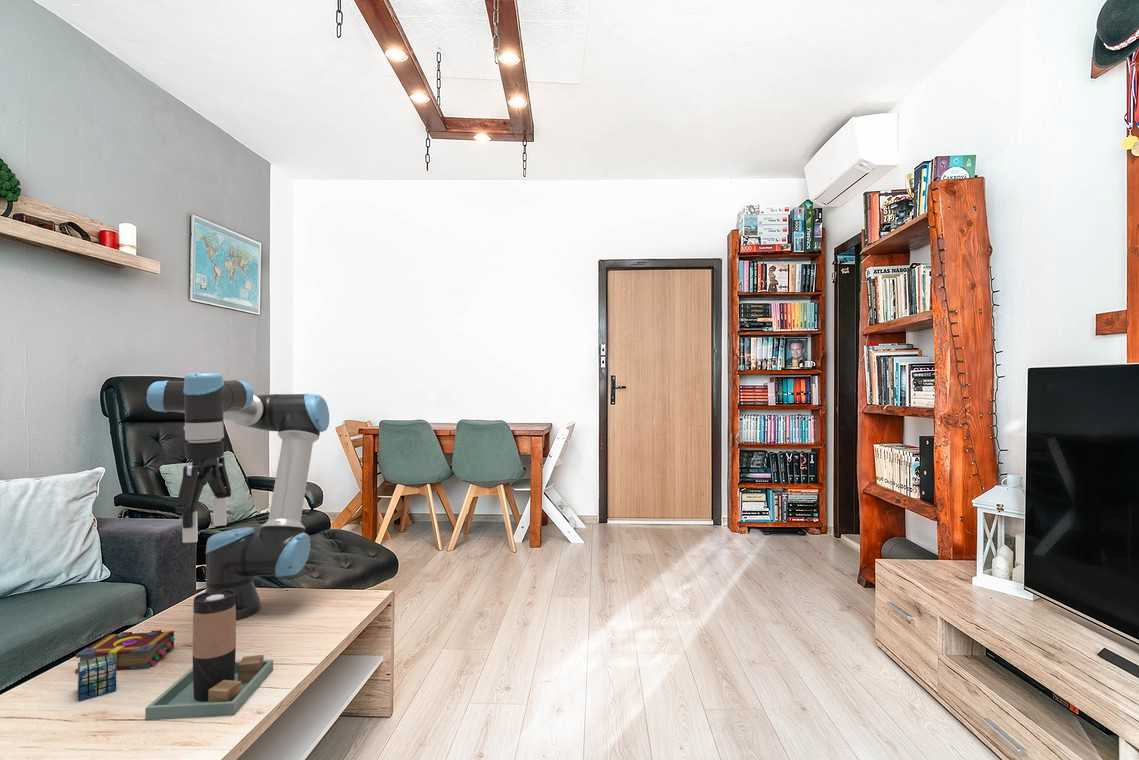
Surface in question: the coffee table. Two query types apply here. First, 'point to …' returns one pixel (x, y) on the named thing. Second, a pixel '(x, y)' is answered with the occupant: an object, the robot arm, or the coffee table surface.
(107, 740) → the coffee table surface
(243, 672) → the walnut block
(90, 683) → the puzzle
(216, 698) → the walnut block
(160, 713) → the tray
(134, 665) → the decorative book
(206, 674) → the travel mug
